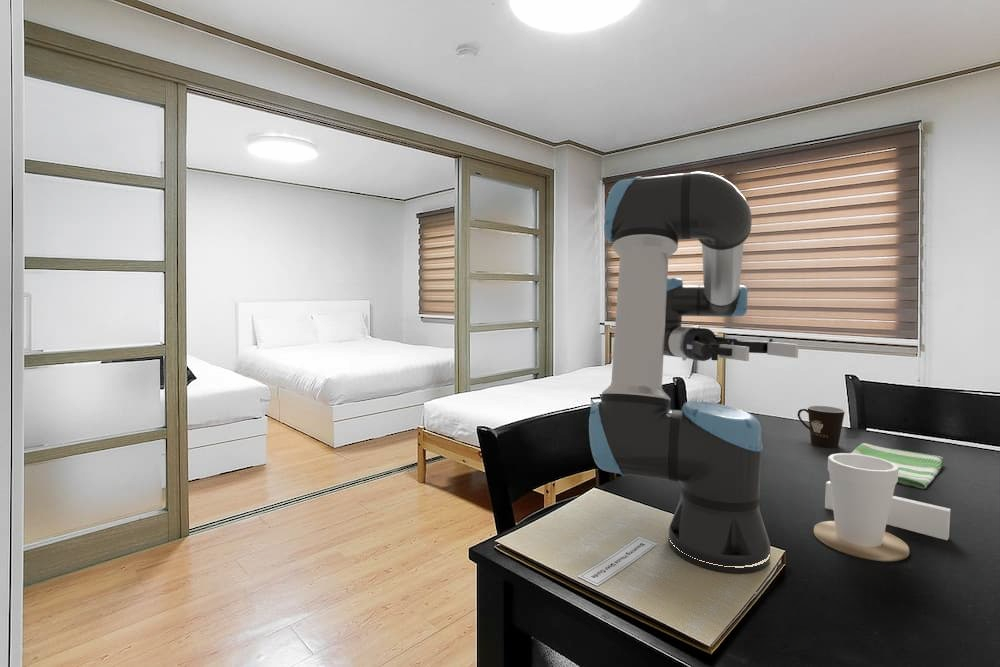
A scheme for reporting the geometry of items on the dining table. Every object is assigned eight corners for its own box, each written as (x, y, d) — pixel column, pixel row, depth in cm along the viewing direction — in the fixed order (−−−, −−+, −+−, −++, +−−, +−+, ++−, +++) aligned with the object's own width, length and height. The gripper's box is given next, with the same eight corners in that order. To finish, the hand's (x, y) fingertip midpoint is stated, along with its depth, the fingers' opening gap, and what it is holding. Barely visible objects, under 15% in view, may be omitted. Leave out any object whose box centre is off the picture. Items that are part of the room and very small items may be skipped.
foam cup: (833, 520, 92) (836, 449, 91) (898, 537, 85) (902, 461, 84) (819, 537, 85) (822, 461, 84) (887, 557, 78) (892, 475, 77)
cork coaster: (900, 570, 76) (900, 566, 76) (803, 540, 85) (803, 536, 85) (915, 542, 85) (916, 538, 85) (826, 517, 94) (826, 514, 94)
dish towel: (830, 470, 122) (830, 458, 121) (859, 450, 137) (859, 440, 137) (925, 491, 108) (926, 479, 108) (946, 467, 123) (947, 456, 123)
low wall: (947, 540, 85) (949, 511, 85) (824, 507, 98) (825, 482, 98) (948, 537, 86) (950, 508, 86) (827, 505, 100) (828, 480, 99)
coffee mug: (850, 449, 137) (852, 412, 136) (818, 449, 137) (819, 412, 136) (823, 437, 148) (825, 403, 147) (793, 437, 148) (795, 403, 148)
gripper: (732, 356, 125) (815, 367, 105) (650, 362, 115) (724, 375, 95) (733, 326, 124) (816, 331, 104) (651, 329, 114) (725, 335, 95)
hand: (773, 352), depth 100 cm, fingers open, 13 cm apart
